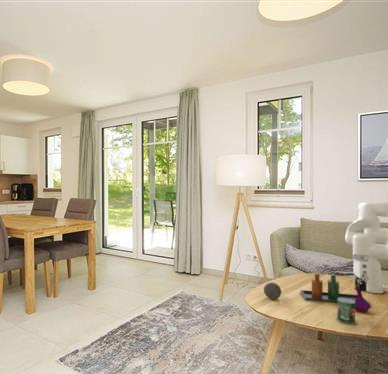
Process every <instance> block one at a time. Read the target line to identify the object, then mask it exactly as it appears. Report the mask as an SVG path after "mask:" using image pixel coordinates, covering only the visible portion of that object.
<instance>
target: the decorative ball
mask: <svg viewBox="0 0 388 374" xmlns="http://www.w3.org/2000/svg"><path fill="white" fill-rule="evenodd" d="M263 292H264V295H265V296H266V297H267V298H268V299H270V300H277V299H279V298H280V297H281V295H282V289H281V287H280V286H279V285H278V283H275V282H267V283H266V284H264V287H263Z"/></svg>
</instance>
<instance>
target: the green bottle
mask: <svg viewBox="0 0 388 374" xmlns="http://www.w3.org/2000/svg"><path fill="white" fill-rule="evenodd" d="M327 292H328V299H330V300H337V298H339V293H340V281H339V280H337V275H336V274H334V273H331V274H330V279H328V280H327Z"/></svg>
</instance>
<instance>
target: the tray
mask: <svg viewBox="0 0 388 374" xmlns="http://www.w3.org/2000/svg"><path fill="white" fill-rule="evenodd" d="M300 294H301V295H302V297H303V298H304V300H305V301H311V302H319V303H320V302H322V303H332V304H337V300H330V299H328V291H323V298H322V299H319V298H313V297H312V296H311V295H312V290H306V289H305V290H304V289H300ZM340 297H344V298H349V299H352V300H355V299H356V298H357V294H353V293H352V294H351V293H340V292H339V298H340ZM365 301H366V302H367V303H368V304H369V305H370V306H371V303H370V302H369V301H368V300H366V299H365Z"/></svg>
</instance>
